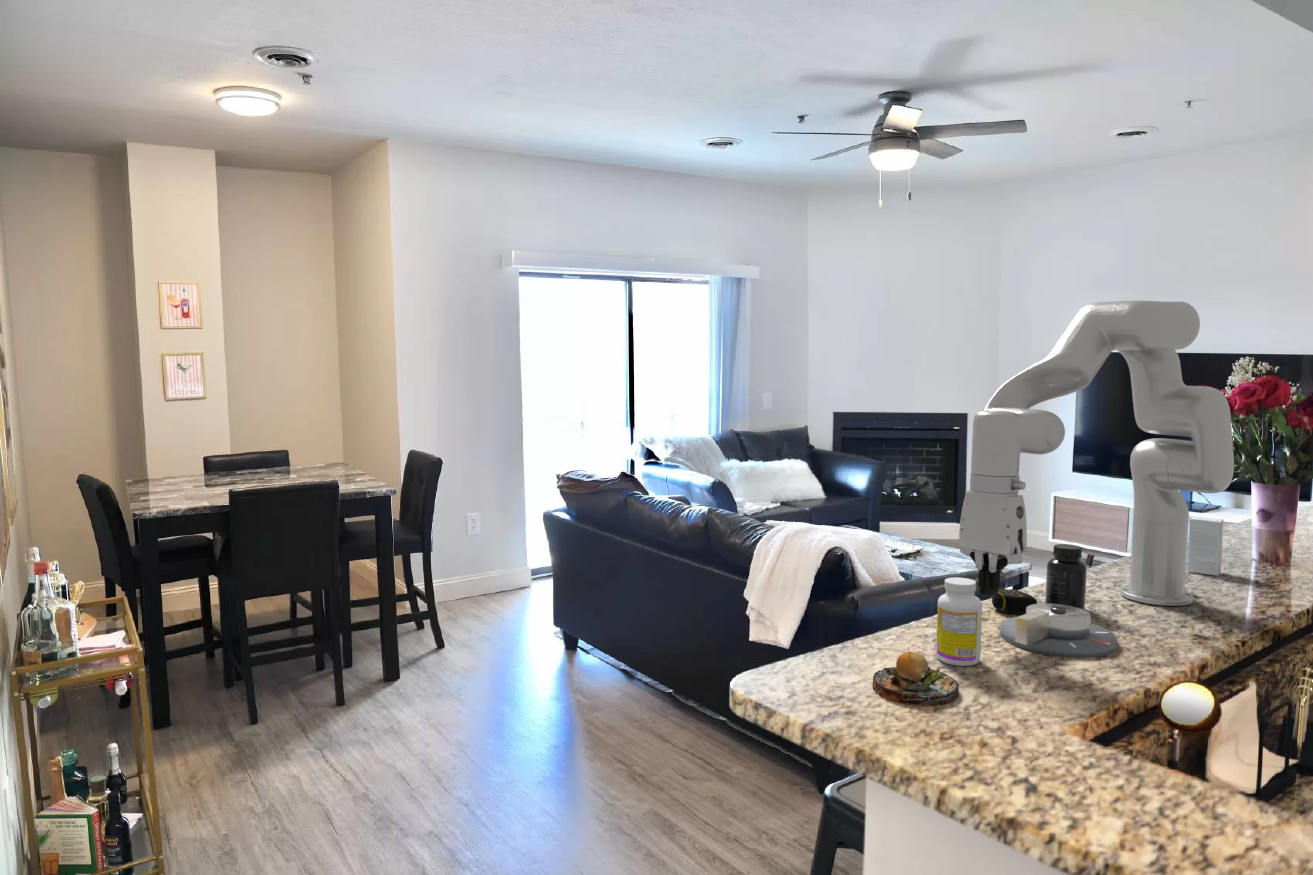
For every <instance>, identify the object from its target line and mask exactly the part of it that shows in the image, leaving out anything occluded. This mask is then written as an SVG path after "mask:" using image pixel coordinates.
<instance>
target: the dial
mask: <svg viewBox="0 0 1313 875" xmlns="http://www.w3.org/2000/svg"><path fill="white" fill-rule="evenodd" d="M1015 617H1016V629H1015V642H1018V643H1022V644H1026V645H1028V644H1030V643H1032V642H1035V641H1037V640H1040V639H1042V638H1045V637H1047V636H1049V637H1055V638H1066V639H1075V638H1083V637H1087V636H1089V635H1090V625H1091V624H1092V623H1091V621H1092V619H1091V618H1092V615H1091V613H1090V612H1088V611H1087V610H1085V609H1084V610H1083V609H1080V608H1076V607H1072V606H1067V605H1061V604H1045V603H1037V604H1033V605H1030V606H1028V607H1027V608H1026V612H1025V614H1024V613H1023V614H1022V615H1019V616H1015Z"/></svg>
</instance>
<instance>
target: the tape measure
mask: <svg viewBox="0 0 1313 875" xmlns="http://www.w3.org/2000/svg"><path fill="white" fill-rule="evenodd" d="M991 603H992V607H993V608H995V609H996V610H998V611H1001V612H1003V613H1005V614H1024V613H1025V614H1026V608H1027V607H1028V606H1030V605H1033V604H1038V600H1037V599H1036V598H1035V597H1033V596H1032V595H1030V594H1028V593H1025V592H1023V591H1020V590H1018V589H1015V588H1010V589H1008V588H999V590H998V592H997V593H996V594H993V595H991Z"/></svg>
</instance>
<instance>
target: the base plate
mask: <svg viewBox="0 0 1313 875" xmlns="http://www.w3.org/2000/svg"><path fill="white" fill-rule="evenodd" d="M1016 617H1017V616H1014V617H1011V618H1007V619H1005V620H1002V622H1001V623H1000V625H999V626H1000V627H999V628H1000V629H999V635H1000V637H1001V639H1002V640H1004V641H1005V642H1007V643H1009V644H1011V645H1013V646H1015V647H1018V648H1020V649H1023V650H1025V651H1030V652H1035V653H1037V654H1043V655H1048V656H1056V657H1064V658H1076V659H1077V658H1082V659H1083V658H1085V659H1086V658H1099V657H1104V656H1107V655H1108V656H1109V655H1110V654H1113V653H1114V652H1116V650H1117V640H1118V638H1117V636H1116V634H1114V633H1113V631H1111V630H1108V629H1106V628H1105V627H1102V626H1100V625H1097V624H1093V623H1091V625H1090V635H1089V636H1087V637H1083V638H1075V639H1066V638H1055V637H1049V636H1047V637H1045V638H1042V639H1040V640H1037V641H1035V642H1032V643H1030V644H1028V645H1026V644H1022V643H1018V642H1015V629H1016Z"/></svg>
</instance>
